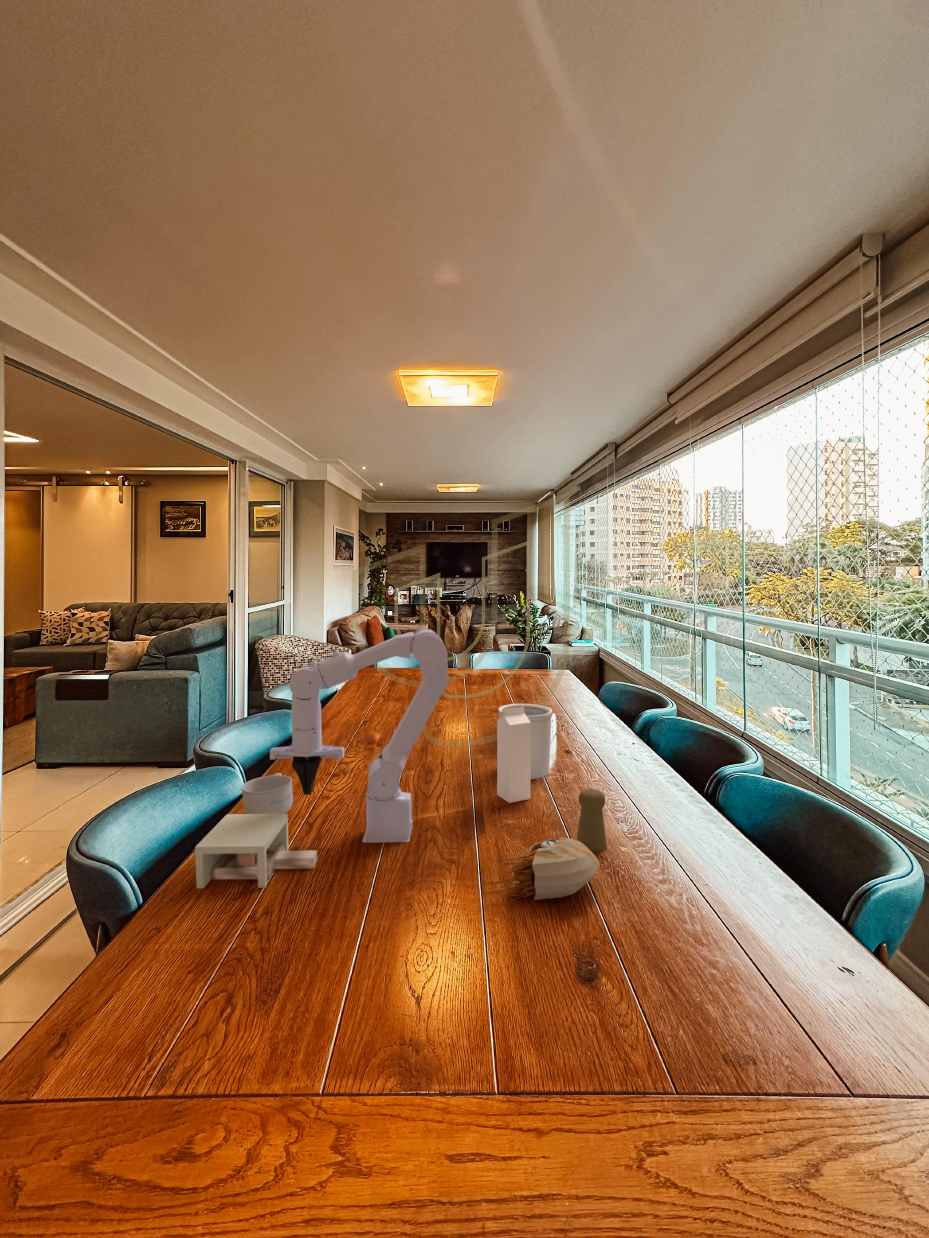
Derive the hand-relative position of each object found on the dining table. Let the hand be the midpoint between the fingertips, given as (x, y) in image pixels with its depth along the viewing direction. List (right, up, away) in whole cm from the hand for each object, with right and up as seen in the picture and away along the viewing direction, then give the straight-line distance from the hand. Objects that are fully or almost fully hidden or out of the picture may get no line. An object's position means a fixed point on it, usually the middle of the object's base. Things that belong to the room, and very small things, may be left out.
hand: (308, 793), depth 119 cm
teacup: (-12, -9, +14) cm, 21 cm away
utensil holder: (+48, -7, +43) cm, 65 cm away
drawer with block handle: (-5, -11, -10) cm, 16 cm away
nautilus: (+44, -11, -18) cm, 49 cm away
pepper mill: (+57, -10, -1) cm, 58 cm away
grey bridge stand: (-8, -11, -11) cm, 18 cm away
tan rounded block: (-8, -10, -13) cm, 18 cm away
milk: (+44, -8, +24) cm, 51 cm away
